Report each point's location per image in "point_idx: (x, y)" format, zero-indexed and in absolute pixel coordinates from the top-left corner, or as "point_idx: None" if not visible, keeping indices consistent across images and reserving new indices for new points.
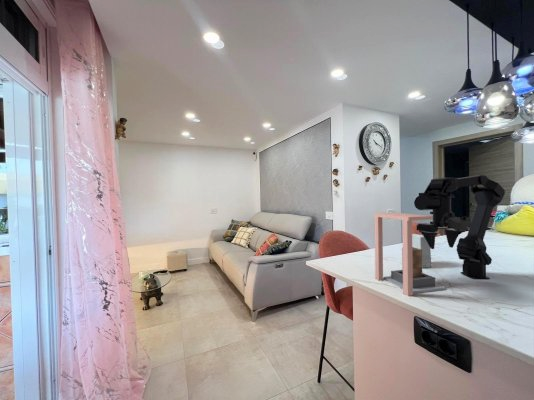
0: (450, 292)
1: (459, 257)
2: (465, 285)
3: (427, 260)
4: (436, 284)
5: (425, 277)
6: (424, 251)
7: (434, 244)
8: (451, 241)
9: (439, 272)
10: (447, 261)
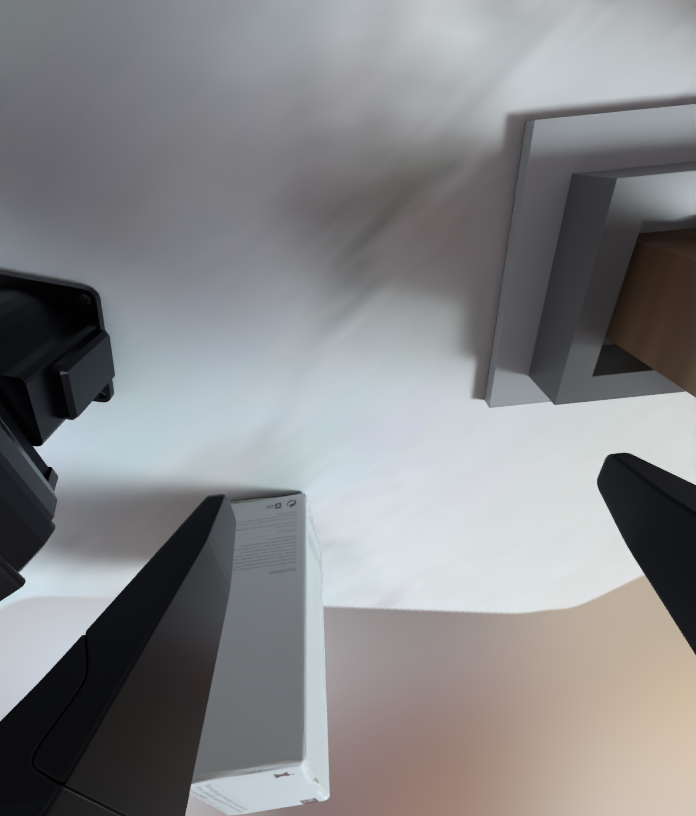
0: (547, 48)
1: (51, 483)
2: (272, 175)
3: (253, 537)
4: (533, 198)
5: (693, 200)
6: (271, 601)
7: (689, 506)
8: (196, 603)
9: (250, 427)
10: (46, 564)
